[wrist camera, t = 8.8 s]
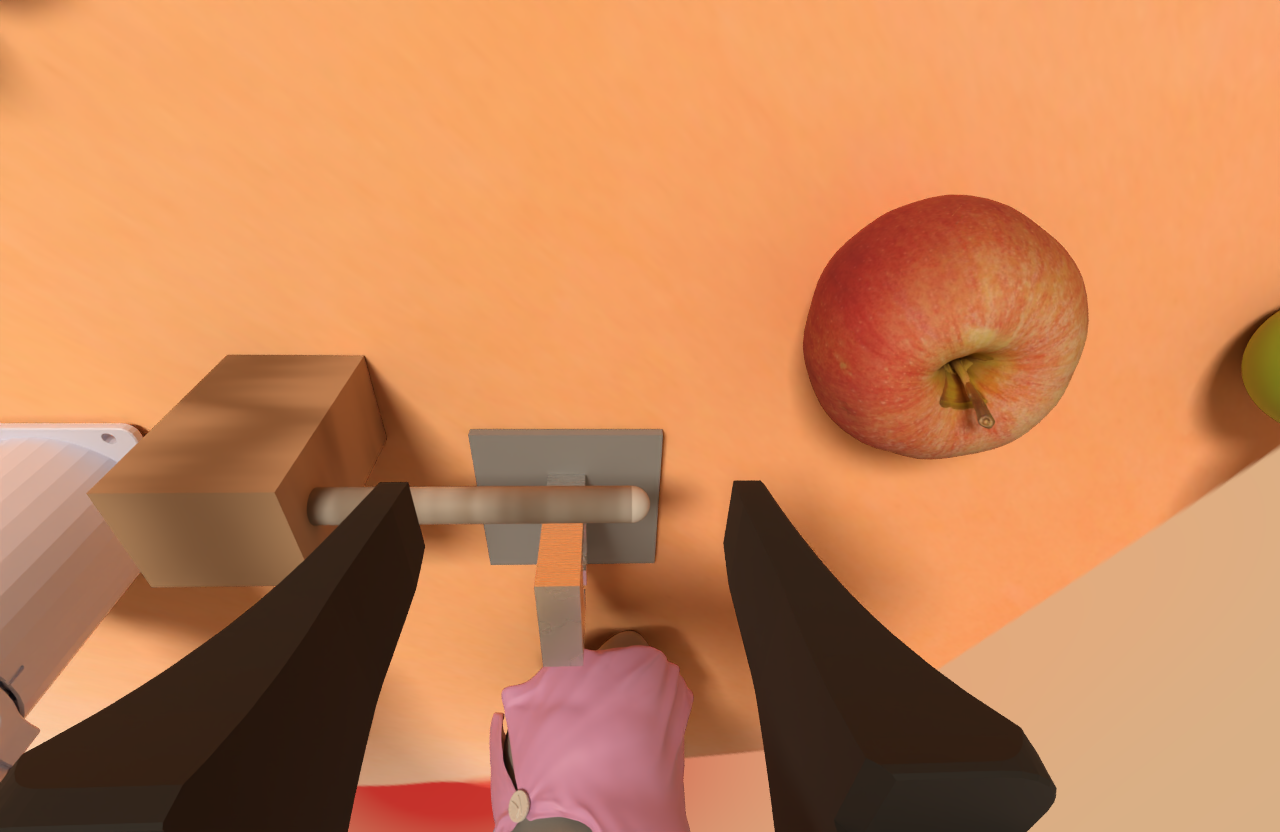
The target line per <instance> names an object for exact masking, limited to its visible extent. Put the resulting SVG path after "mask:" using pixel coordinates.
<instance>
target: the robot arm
mask: <svg viewBox="0 0 1280 832" xmlns="http://www.w3.org/2000/svg"><path fill="white" fill-rule="evenodd" d="M142 438H143V436H142V435H141V433H140V432H139V430H138V429H136V428H135V427H134V426H131V425H129V424H124V423H0V832H348V828H349V822H350V818H351V813H352V808H353V803H354V798H355V793H356V789H357V784H358V780H359V775H360V771H361V766H362V762H363V758H364V753H365V749H366V745H367V741H368V736H369V732H370V728H371V724H372V720H373V716H374V712H375V708H376V704H377V701H378V698H379V694H380V691H381V688H382V685H383V682H384V679H385V676H386V673H387V670H388V668H389V665H390V662H391V659H392V656H393V653H394V651H395V648H396V645H397V642H398V639H399V637H400V634H401V631H402V628H403V625H404V623H405V620H406V617H407V614H408V611H409V608H410V605H411V602H412V599H413V596H414V593H415V591H416V587H417V582H418V578H419V574H420V569H421V564H422V559H423V554H424V549H425V544H424V540H423V537H422V533H421V529H420V525H419V521H418V518H417V514H416V510H415V506H414V502H413V499H412V495H411V491H410V487H409V483H408V482H380V483H379V484H378V485H377V486H376V487H375V488H374V489H373V490H372V491H371V492H370V493H369V494H368V495H367V496H366V497H365V498H364V499H363V500H362V501H361V502H360V503H359V504H358V506H357V507H356V508H355V509H354V510H353V511H352V512H351V513H350V514H349V515H348V516H347V517H346V518H345V519H344V520H343V521H342V522H341V523H340V524H339V526H338V527H337V528H336V529H335V530H334V531H333V532H332V533H331V534H330V535H329V536H328V537H327V538H326V539H325V540H324V541H323V542H322V543H321V544H320V545H319V546H318V547H317V548H316V549H315V550H314V551H313V552H312V553H311V554H310V555H309V556H308V557H307V558H306V559H305V560H304V561H303V562H302V563H301V564H299V565H298V566H297V567H296V568H295V569H294V570H293V571H292V572H291V573H290V574H289V575H288V576H286V577H285V578H284V579H283V580H282V581H281V582H280V583H279V584H278V585H277V586H276V587H275V588H273V589H272V590H271V591H270V592H269V593H268V594H267V595H265V596H264V597H263V598H262V599H261V600H260V601H258V602H257V603H256V604H255V605H254V606H252V607H251V608H250V609H249V610H247V611H246V612H245V613H244V614H242V615H241V616H240V617H239V618H237V619H236V620H235V621H234V622H232V623H231V624H230V625H229V626H227V627H226V628H225V629H223V630H222V631H221V632H219V633H218V634H216V635H215V636H214V637H212V638H211V639H209V640H208V641H207V642H205V643H204V644H202V645H201V646H200V647H198V648H197V649H195V650H194V651H193V652H191V653H190V654H188V655H187V656H185V657H184V658H183V659H181V660H180V661H178V662H177V663H176V664H174V665H173V666H171V667H170V668H168V669H167V670H165V671H164V672H162V673H161V674H159V675H158V676H156V677H154V678H153V679H151V680H150V681H148V682H147V683H145V684H144V685H142V686H141V687H139V688H137V689H136V690H134V691H132V692H131V693H129V694H128V695H126V696H124V697H123V698H121V699H119V700H118V701H116V702H115V703H113V704H111V705H110V706H108V707H106V708H104V709H103V710H101V711H99V712H98V713H96V714H94V715H93V716H91V717H89V718H87V719H85V720H84V721H82V722H80V723H78V724H76V725H75V726H73V727H71V728H69V729H67V730H66V731H64V732H62V733H60V734H58V735H57V736H55V737H53V738H51V739H49V740H48V741H46V742H44V743H42V744H40V745H39V746H37V747H35V748H33V749H31V750H29V751H27V752H25V751H26V749H27V748H28V747H29V745H30V744H31V743H32V742H33V740H34V739H35V738H36V736H37V735H38V734H39V732H40V729H39V728H37V727H36V726H34V725H32V724H30V723H29V722H28V721H26V720H25V718H26V716H27V715H28V714H29V712H30V711H31V710H32V709H33V707H34V706H35V705H36V704H37V702H38V701H39V700H40V699H41V697H42V696H43V695H44V694H45V692H46V691H47V690H48V689H49V687H50V686H51V685H52V683H53V682H54V681H55V680H56V678H57V677H58V676H59V675H60V673H61V672H62V671H63V670H64V668H65V667H66V666H67V665H68V663H69V662H70V661H71V659H72V658H73V657H74V656H75V654H76V653H77V652H78V651H79V649H80V648H81V647H82V646H83V644H84V643H85V642H86V641H87V639H88V638H89V637H90V635H91V634H92V633H93V632H94V630H95V629H96V628H97V627H98V625H99V624H100V623H101V622H102V620H103V619H104V618H105V617H106V615H107V614H108V613H109V611H110V610H111V609H112V608H113V606H114V605H115V604H116V603H117V601H118V600H119V599H120V598H121V596H122V595H123V594H124V593H125V591H126V590H127V589H128V587H129V586H130V585H131V584H132V582H133V581H134V580H135V579H136V577H137V576H138V575H139V574H140V570H139V569H138V567H137V566H136V565H135V563H134V562H133V560H132V559H131V557H130V556H129V554H128V553H127V552H126V550H125V549H124V547H123V546H122V544H121V543H120V541H119V540H118V539H117V537H116V536H115V534H114V533H113V531H112V530H111V529H110V527H109V526H108V524H107V523H106V521H105V520H104V518H103V517H102V516H101V514H100V513H99V511H98V510H97V508H96V507H95V505H94V504H93V503H92V501H91V500H90V498H89V497H88V495H87V494H86V493H87V492H88V491H89V490H90V489H91V488H92V487H93V486H94V485H95V484H96V483H97V482H98V481H99V480H100V479H101V478H102V477H103V476H105V475H106V474H107V473H108V472H109V471H110V470H111V469H112V468H113V467H114V466H115V465H116V464H117V463H118V462H119V461H120V460H121V459H122V458H123V457H124V456H125V455H126V454H127V453H128V452H129V451H130V450H131V449H132V448H133V447H134V446H135V445H136V444H137V443H138V442H139V441H140V440H141V439H142ZM723 544H724V552H725V560H726V568H727V575H728V583H729V588H730V592H731V596H732V600H733V604H734V608H735V612H736V616H737V620H738V624H739V628H740V632H741V636H742V640H743V644H744V647H745V651H746V655H747V659H748V663H749V667H750V671H751V675H752V679H753V684H754V689H755V694H756V699H757V706H758V712H759V719H760V725H761V732H762V738H763V745H764V752H765V759H766V766H767V773H768V781H769V788H770V796H771V804H772V812H773V820H774V828H775V832H1027V831H1028V830H1029V829H1030V828H1031V827H1032V826H1033V825H1034V824H1035V823H1036V822H1037V821H1038V820H1039V819H1040V818H1041V817H1042V816H1043V815H1044V814H1045V813H1046V812H1047V811H1048V810H1049V808H1050V807H1051V805H1052V804H1053V803H1054V801H1055V798H1056V787H1055V785H1054V783H1053V781H1052V779H1051V778H1050V776H1049V774H1048V772H1047V770H1046V768H1045V766H1044V764H1043V763H1042V761H1041V759H1040V757H1039V755H1038V754H1037V752H1036V750H1035V749H1034V747H1033V746H1032V744H1031V743H1030V742H1029V740H1028V738H1027V737H1026V735H1025V734H1024V732H1023V730H1022V729H1021V728H1020V727H1019V726H1018V725H1016V724H1014V723H1013V722H1011V721H1010V720H1008V719H1007V718H1005V717H1004V716H1002V715H1001V714H999V713H998V712H996V711H995V710H993V709H992V708H990V707H989V706H987V705H986V704H984V703H983V702H981V701H979V700H978V699H976V698H975V697H973V696H972V695H970V694H969V693H967V692H966V691H965V690H963V689H962V688H960V687H959V686H958V685H956V684H955V683H954V682H952V681H951V680H950V679H948V678H947V677H945V676H944V675H943V674H941V673H940V672H939V671H937V670H936V669H935V668H933V667H932V666H931V665H930V664H928V663H927V662H926V661H925V660H923V659H922V658H921V657H920V656H919V655H917V654H916V653H915V652H914V651H912V650H911V649H910V648H909V647H908V646H906V645H905V644H904V643H903V642H902V641H900V640H899V639H898V638H897V637H896V636H894V635H893V634H892V633H891V632H890V631H889V630H888V629H887V628H885V627H884V626H883V625H882V624H881V623H880V622H879V621H878V620H877V619H876V618H875V617H873V616H872V615H871V614H870V613H869V612H868V611H867V610H866V609H865V608H864V607H863V606H862V605H861V604H860V603H859V602H858V601H857V600H856V599H855V598H854V597H853V596H852V595H851V594H850V593H849V592H848V590H847V589H846V588H845V587H844V586H843V585H842V584H841V583H840V582H839V581H838V580H837V578H836V577H835V576H834V575H833V574H832V573H831V572H830V571H829V569H828V568H827V567H826V566H825V565H824V564H823V562H822V561H821V560H820V559H819V558H818V557H817V555H816V554H815V553H814V552H813V550H812V549H811V548H810V547H809V545H808V544H807V543H806V542H805V540H804V539H803V538H802V537H801V535H800V534H799V533H798V531H797V530H796V529H795V527H794V526H793V525H792V523H791V522H790V521H789V519H788V518H787V516H786V515H785V514H784V512H783V511H782V510H781V508H780V507H779V505H778V504H777V502H776V501H775V500H774V498H773V497H772V495H771V494H770V492H769V491H768V489H767V488H766V486H765V485H764V484H763V483H762V482H761V481H733V487H732V494H731V500H730V506H729V512H728V518H727V524H726V531H725V537H724V543H723ZM24 752H25V753H24Z"/></svg>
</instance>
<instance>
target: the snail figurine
mask: <svg viewBox="0 0 1280 832" xmlns="http://www.w3.org/2000/svg"><path fill="white" fill-rule="evenodd" d="M1241 371H1242V379H1243V382H1244V385H1245V388H1246V390H1247V392H1248V394H1249V396H1250V397H1251V399H1252V400H1253V401H1254V403H1255V404H1256V405H1257V406H1258V407H1259V408H1260V409H1261V410H1262V411H1263V412H1264V413H1265V414H1267V415H1268V416H1269V417H1271V418H1272V419H1274V420H1275V421H1277V422H1279V423H1280V311H1278V312H1277V313H1275V314H1274V315H1272V316H1271V317H1270V318H1269V319H1267V320H1266V321H1265V322H1264V323H1263V324H1262V325H1261V326H1260V327H1259V328H1258V329H1257V330H1256V332H1255V333H1254V334H1253V336H1252V337H1251V339H1250V340H1249V342H1248V344H1247V346H1246V348H1245V351H1244V354H1243V358H1242V366H1241Z"/></svg>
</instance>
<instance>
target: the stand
mask: <svg viewBox="0 0 1280 832" xmlns="http://www.w3.org/2000/svg"><path fill="white" fill-rule="evenodd" d="M386 440H387V438H386V434H385V431H384V427H383V423H382V420H381V416H380V412H379V409H378V405H377V401H376V398H375V394H374V391H373V387H372V383H371V380H370V376H369V372H368V369H367V365H366V361H365V358H364V356H328V355H227V356H226V357H225V358H224V359H223V360H222V361H221V362H220V363H219V364H218V365H217V366H216V367H215V368H214V369H212V370H211V371H210V372H209V373H208V374H207V375H206V376H205V377H204V378H203V379H202V380H201V381H200V382H199V383H198V384H197V385H196V386H195V387H194V388H193V389H192V390H191V391H190V392H189V393H188V394H187V395H186V396H185V397H184V398H183V399H182V400H181V401H180V402H179V403H178V404H177V405H176V406H175V407H174V408H173V409H172V410H171V411H170V412H169V413H168V414H167V415H166V416H165V417H164V418H163V419H162V420H161V421H160V422H158V423H157V424H156V425H155V426H154V427H153V428H152V429H151V430H150V431H149V432H148V433H147V434H146V435H145V436H144V437H143V438H142V439H141V440H140V441H139V442H138V443H137V444H136V445H135V446H134V447H133V448H132V449H131V450H130V451H129V452H128V453H127V454H126V455H125V456H124V457H123V458H122V459H121V460H120V461H119V462H118V463H117V464H116V465H115V466H114V467H113V468H112V469H111V470H110V471H109V472H108V473H107V474H106V475H105V476H103V477H102V478H101V479H100V480H99V481H98V482H97V483H96V484H95V485H94V486H93V487H92V488H91V489H90V490H89V491H88V492H87V493H86V494H87V495H88V497H89V498H90V500H91V501H92V503H93V504H94V505H95V507H96V508H97V510H98V511H99V513H100V514H101V516H102V517H103V518H104V520H105V521H106V523H107V524H108V526H109V527H110V529H111V530H112V531H113V533H114V534H115V536H116V537H117V539H118V540H119V541H120V543H121V544H122V546H123V547H124V549H125V550H126V552H127V553H128V554H129V556H130V557H131V559H132V560H133V562H134V563H135V565H136V566H137V567H138V569H139V570H140V572H141V573H142V575H143V576H144V578H145V579H146V580H147V582H148V583H149V585H150V586H151V588H153V587H230V586H277V585H278V584H279V583H280V582H281V581H282V580H283V579H284V578H285V577H286V576H288V575H289V574H290V573H291V572H292V571H293V570H294V569H295V568H296V567H297V566H298V565H299V564H301V563H302V562H303V561H304V560H305V559H306V558H307V557H308V556H309V555H310V554H311V553H312V552H313V551H314V550H315V549H316V548H317V547H318V546H319V545H320V544H321V543H322V542H323V541H324V540H325V539H326V538H327V537H328V536H329V535H330V534H331V533H332V532H333V531H334V530H335V529H336V528H337V527H338V526H339V524H340V523H341V522H342V521H343V520H344V519H345V518H346V517H347V516H348V515H349V514H350V513H351V512H352V511H353V510H354V509H355V508H356V507H357V506H358V504H359V503H360V502H361V501H362V500H363V499H364V498H365V497H366V496H367V495H368V494H369V493H370V492H371V491H372V490H373V489H374V488H375V487H364V485H365V483H366V481H367V479H368V477H369V475H370V473H371V470H372V468H373V466H374V464H375V462H376V460H377V458H378V456H379V454H380V452H381V450H382V448H383V446H384V444H385V442H386ZM410 491H411V495H412V499H413V502H414V506H415V510H416V514H417V518H418V521H419V525H429V524H552V523H635V522H638V521H640V520H642V519H643V518H644V517H645V516H646V515H647V513H648V511H649V508H650V500H649V497H648V495H647V493H646V492H645V491H644V490H643V489H641V488H639V487H637V486H450V487H410Z"/></svg>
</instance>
